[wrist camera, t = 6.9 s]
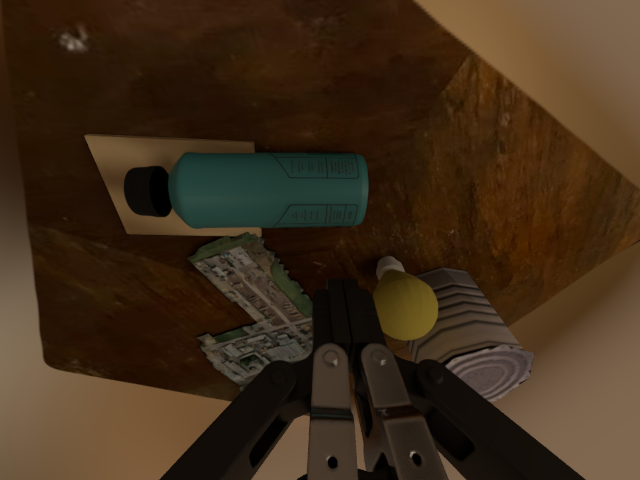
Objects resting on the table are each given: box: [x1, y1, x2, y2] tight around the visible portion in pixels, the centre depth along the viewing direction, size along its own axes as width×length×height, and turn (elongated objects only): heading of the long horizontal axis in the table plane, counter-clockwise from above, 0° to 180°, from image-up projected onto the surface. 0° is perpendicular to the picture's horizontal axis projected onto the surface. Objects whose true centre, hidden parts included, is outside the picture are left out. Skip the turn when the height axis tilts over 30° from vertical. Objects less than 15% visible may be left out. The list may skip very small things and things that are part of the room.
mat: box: [84, 134, 262, 237], centre depth 26 cm, size 10×14×1 cm
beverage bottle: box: [124, 151, 368, 230], centre depth 22 cm, size 6×7×20 cm
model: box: [187, 232, 313, 391], centre depth 38 cm, size 21×30×2 cm
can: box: [406, 267, 535, 402], centre depth 32 cm, size 11×11×12 cm
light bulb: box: [372, 256, 438, 340], centre depth 29 cm, size 7×7×10 cm
